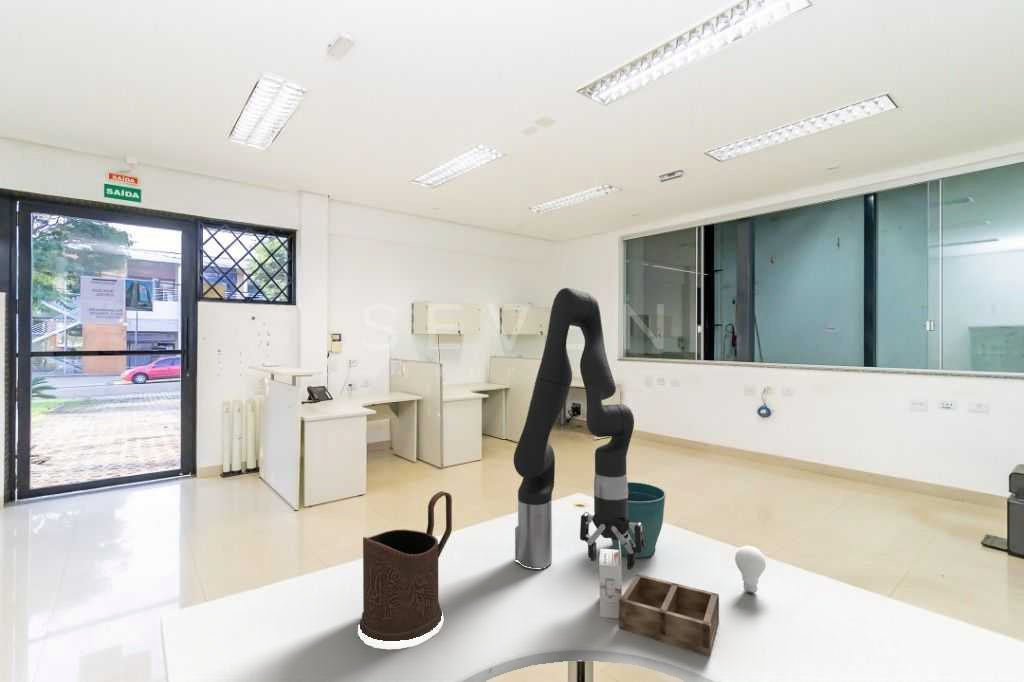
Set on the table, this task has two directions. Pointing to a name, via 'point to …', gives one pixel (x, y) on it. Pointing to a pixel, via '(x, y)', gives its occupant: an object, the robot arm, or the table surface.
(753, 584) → the light bulb
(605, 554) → the ink cartridge box
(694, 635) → the walnut rack
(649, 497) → the flower pot
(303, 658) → the table surface
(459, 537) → the table surface
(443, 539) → the cup holder
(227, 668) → the table surface
